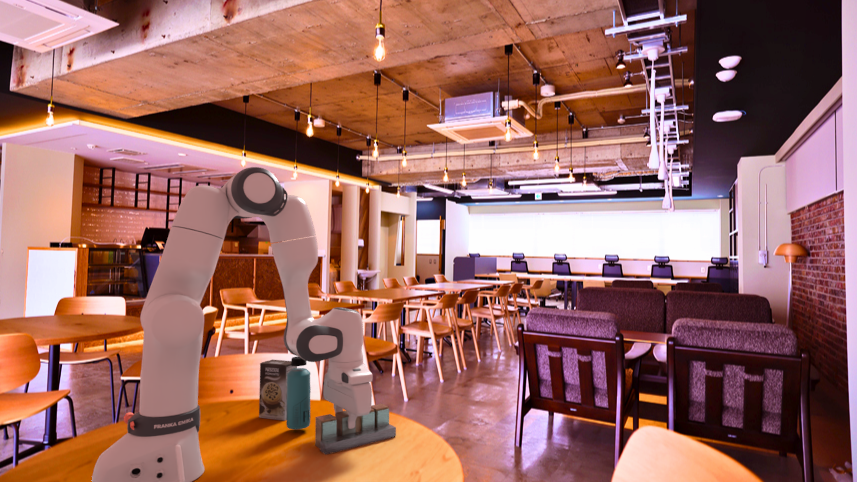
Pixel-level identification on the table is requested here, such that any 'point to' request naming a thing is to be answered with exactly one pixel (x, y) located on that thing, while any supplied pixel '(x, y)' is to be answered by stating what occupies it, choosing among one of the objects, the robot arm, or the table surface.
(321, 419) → the grey block holder
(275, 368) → the coffee box
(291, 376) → the beverage bottle
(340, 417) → the brown-topped upright block
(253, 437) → the table surface
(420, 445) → the table surface
